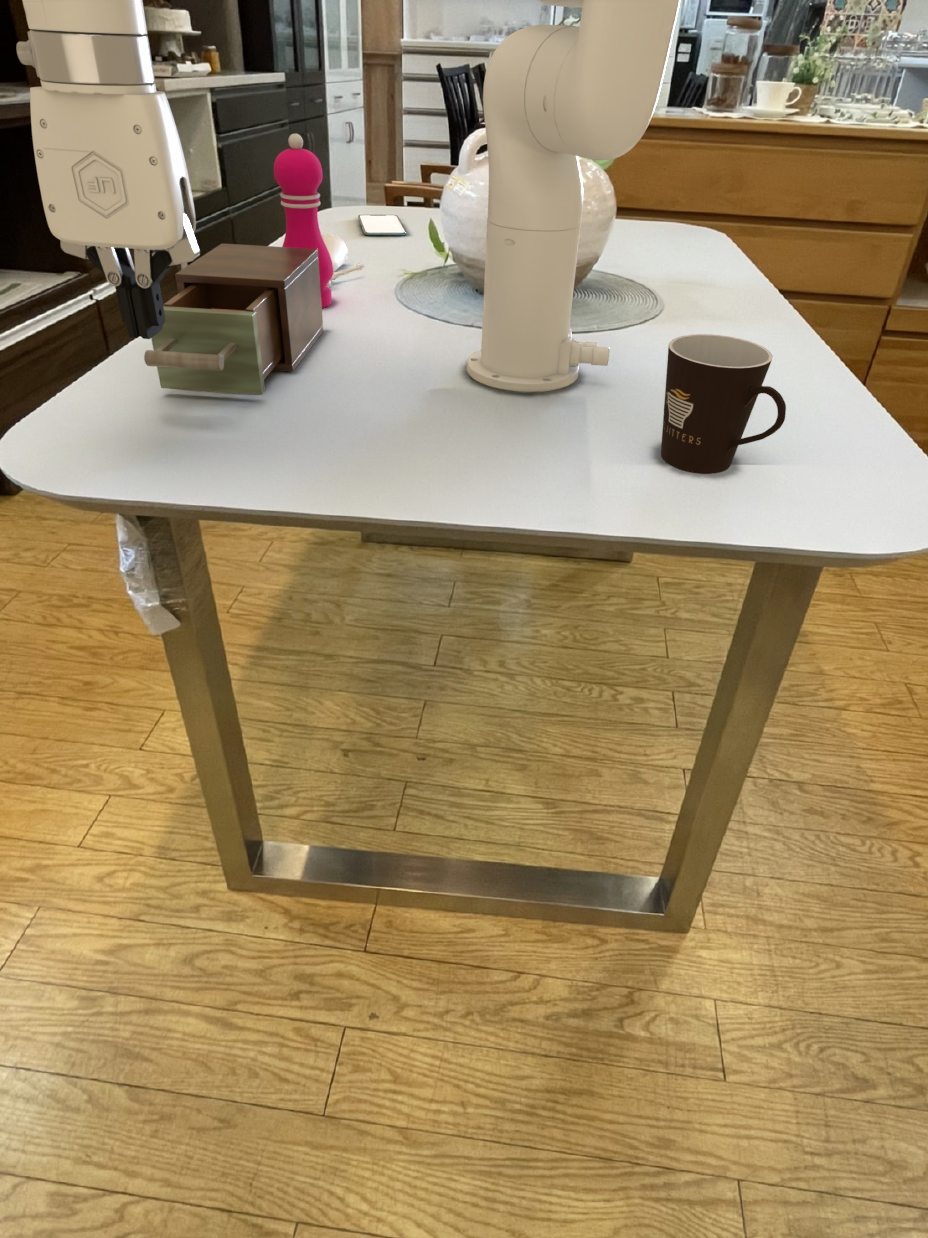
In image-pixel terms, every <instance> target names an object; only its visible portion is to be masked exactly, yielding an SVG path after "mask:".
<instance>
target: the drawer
mask: <svg viewBox="0 0 928 1238" xmlns="http://www.w3.org/2000/svg"><path fill="white" fill-rule="evenodd" d="M163 307H164V313H165V323H164V324H163V328H162V330H161V331H160V332H159V333H157V334H156V335H155V336H153V337H152V338H151V339H150V340H151V344H152V349H147V350H145V352H144V355H143V356H144V357H143V358H144V364H145V365H146V366H147V367H156V368H157V374H158V379H159V384H160V388H161V389H168V390H184V391H197V392H211V393H212V392H215V393H227V394H241V395H243V394H244V395H255V396H263V394H264V393H265V391H266V387H265V379H266V378H267V376H269V374H270V373H271V372H272V371H274V370H273V368H274V367H275V366H276V365H277V363H278V362H279V361H280V360H281V359H282V357H283V356H284V346H283V336H282V326H281V316H280V306H279V296H278V288H269V287H253V286H236V285H220V284H203V283H193V284H191V285H190V286H188V287H187V288H186V289H184V290H183V291H181V292H180V293H179V294H178V293H177V294H176V295H174V296H173V297H171V298H170V299H169V300H167V301H166V302H165V303H163ZM212 308H213V309H212ZM216 309H229V310H216ZM232 310H245V311H232Z"/></svg>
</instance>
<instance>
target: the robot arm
mask: <svg viewBox="0 0 928 1238" xmlns="http://www.w3.org/2000/svg"><path fill="white" fill-rule="evenodd" d="M21 1H22V6H23V9H24V12H25V13H24V14H25V18H26V22H27V26H28V29H29V31H27V32H26V33H27V37H28V40H26V41H18V42H17V43H16V46H15V47H16V55H17V58H18V60H19V62H20V63H21V64H22V65H25V66H32V67H33V68H35V72H36V73H35V74H36V76H37V78H39V79H40V80H39V81H40V85H41V86H33V87H30V88H29V99H30V100H29V103H30V104H29V105H30V106H29V107H30V123H31V136H32V137H31V138H32V146H33V153H34V154H33V155H34V161H35V167H36V168H35V169H36V173H37V180H38V185H39V190H40V196H41V202H42V207H43V211H44V215H45V218H46V223H47V226H48V228H49V231H50V233H51V234H52V236H54V237H55V238H56V239H58V240H59V241H60V244H59V245H60V249H61V250H62V251H63V252H64V253H66V254H68V255H71V256H74V257H78V258H80V259H83V260H88V261H90V262H91V263H92V264H93V265H94V266H95V267H96V268H97V269H98V270H99V271H100V272H101V273H103V274H104V276H105V279H106V281H107V283H108V284H109V285H111V286H112V287H114V289H115V292H116V293H115V294H116V298H117V303H118V308H119V312H120V317H121V321H122V323H123V324H126V330H127V335H128V337H129V338H131V339H138V338H139V337H141V338H142V339H143V340H152V339H151V338H152V337H153V336H155V335H156V334H157V333H159V332H160V331H161V330H162V328H163V324H164V323H165V313H164V307H163V306H164V302H163V297H162V296H163V295H162V291H161V285H160V281H161V280H163V279H164V277H165V275H166V273H167V272H168V271H169V270H170V268H171V267H172V266H178V265H182V264H187V263H192V262H194V261H196V260H197V259H199V258H200V257H201V250H200V247H199V244H198V241H197V238H196V236H195V232H196V229H197V219H196V210H195V203H194V198H193V192H192V186H191V182H190V176H189V172H188V171H189V170H188V167H187V162H186V159H185V154H184V150H183V146H182V143H181V138H180V135H179V131H178V127H177V125H176V122H175V118H174V115H173V112H172V109H171V106H170V103H169V100H168V98H167V94H166V92H165V91H161V90H157V86H156V83H155V82H156V79H155V72H154V66H153V60H152V53H151V47H150V41H149V36H148V28H147V23H146V15H145V8H144V2H143V1H144V0H21ZM537 1H538V2H540V3H541V4H545V5H548V6H553V7H565V8H581V15H580V22H579V26H578V25H565V24H563V25H562V24H535V25H530V26H529V25H528V26H526V27H523V28H520V29H518V30H516V31H514V32H512V33H511V34H510V35H508V36H506V37H505V38H504V39H503V40H502V41H501V42H500V43H499V45H498V46H497V48H495V50H494V52H493V53H492V55H491V56H490V59H489V62H488V64H487V67H486V71H485V74H484V81H483V89H482V106H483V108H482V109H483V117H484V126H485V135H486V144H487V158H488V159H487V161H488V197H487V198H488V199H487V219H486V235H485V236H486V238H485V259H484V280H483V299H482V300H483V301H482V302H483V303H482V320H481V321H482V323H481V343H480V344H481V346H480V349H478V350H476V351H474V352H473V353H471V354H470V355H469V356H468V357H467V358H466V373H467V374H468V375H469V376H470V377H471V378H472V379H473V380H474V381H476V382H479V383H480V384H482V385H485V386H486V387H487V386H488V387H490V388H494V389H498V390H504V391H509V392H510V391H511V392H519V393H541V392H542V393H543V392H550V391H555V390H556V391H557V390H559V389H563V388H566V387H568V386H570V385H571V384H573V383H575V382H576V380H578V377H579V370H580V369H579V368H580V367H579V364H589V365H591V366H603V367H608V365H609V359H610V347H606V346H598V342H596V341H577V338H573V337H572V336H573V335H572V327H571V326H570V325H571V319H572V318H571V316H572V308H573V307H572V306H573V297H574V289H575V282H576V281H575V280H576V271H577V262H578V253H579V246H580V245H579V244H580V237H581V226H582V219H583V213H584V212H583V210H584V187H583V176H582V171H581V165H580V161H579V158H584V159H587V160H594V161H609V160H614V159H617V158H620V157H622V156H624V155H626V154H627V153H628V152H630V151H631V150H632V149H634V147H635V146H636V145H637V144H638V143H639V141H640V140H641V139H642V137H643V136H644V134H645V133H646V130H647V128H648V127H649V124H650V123H651V120H652V118H653V115H654V113H655V110H656V106H657V103H658V101H659V96H660V92H661V88H662V84H663V79H664V75H665V72H666V66H667V63H668V58H669V54H670V48H671V45H672V40H673V35H674V30H675V26H676V23H677V18H678V13H679V8H680V3H681V0H537ZM130 249H133V257H134V260H133V258H132V255H131V252H130ZM133 261H134V262H133Z"/></svg>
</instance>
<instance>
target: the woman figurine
mask: <svg viewBox="0 0 928 1238" xmlns="http://www.w3.org/2000/svg"><path fill="white" fill-rule="evenodd" d="M321 236H322V238H323V241H324V243H325V245H326V247H327V249H328V251H329V254H330V257H331V260H332V264H333V276H332V278H331V280H330V281H329V282H328V284H327V287H329V288H331V287H332V281H335V280H336V279H337V278H338V277H341V276H344V275H348V274H349V273H352V272H356V271H362V270H363V269H364V268H365V264H360V262H358V263H357V264H356V265H355V266H354V267H351V268H346V269H341V270H339V269H340V268H341V267H342V266H343V265H344V264H345V263H346V262H347V260H348V255H349V248H348V247H347V245H346V242H345V241H344V240H343V239H342V238H340V237H339V236H337V235H332V234H321ZM337 270H338V271H337Z"/></svg>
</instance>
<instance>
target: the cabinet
mask: <svg viewBox="0 0 928 1238" xmlns="http://www.w3.org/2000/svg"><path fill="white" fill-rule="evenodd" d="M174 276H175V281H176V282H175V283H176V289H177V294H179V293H180V292H181V291H183V290H184V289H186V288H187V287H188V286H190V285H191V284H193V283H203V284H220V285H236V286H253V287H269V288H278V296H279V306H280V316H281V326H282V336H283V346H284V356H283V357H282V359H281V360H280V361H279V362H278V363H277V365H276V366H275V367H274V368H273V370H272V371H275V372H276V371H277V372H291V373H292V372H294V371H295V369H296V368H297V367H298V366H299V364H300V363H301V362H302V360H303V359H304V358H305V356H306V355H307V354H308V353H309V352H310V350H311V349H312V347H313V346H314V344H315V343H316V342H317V340H318V339H319V338H320V337H321V335H322V334H323V332H324V321H323V308H322V304H321V290H320V276H319V261H318V249H308V248H290V247H282V246H271V245H257V244H256V245H254V244H237V243H236V244H235V243H220V244H219V245H217V246H215V247H214V248H212V249H211V250H210V251H208V252H206V253H205V254H204V255H202V256H199V257H198V258H197V259H195V260H193V261H192V262H190V263H189V264H188V265H187V266H185V267H184V268H182V269H180V270H179V271H178V272H176V273H175V274H174Z"/></svg>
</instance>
